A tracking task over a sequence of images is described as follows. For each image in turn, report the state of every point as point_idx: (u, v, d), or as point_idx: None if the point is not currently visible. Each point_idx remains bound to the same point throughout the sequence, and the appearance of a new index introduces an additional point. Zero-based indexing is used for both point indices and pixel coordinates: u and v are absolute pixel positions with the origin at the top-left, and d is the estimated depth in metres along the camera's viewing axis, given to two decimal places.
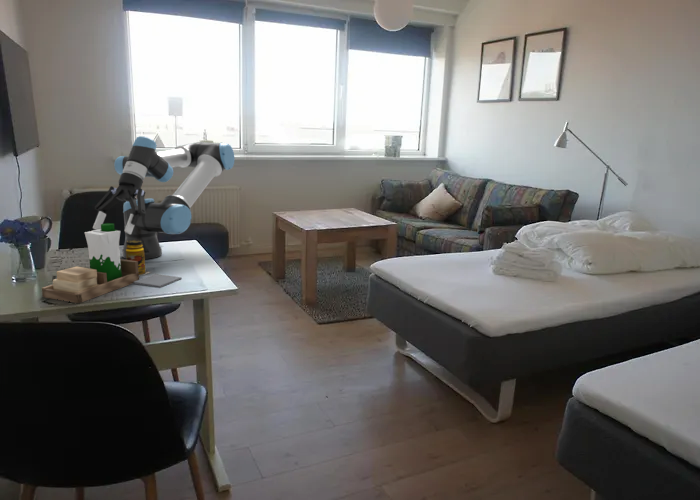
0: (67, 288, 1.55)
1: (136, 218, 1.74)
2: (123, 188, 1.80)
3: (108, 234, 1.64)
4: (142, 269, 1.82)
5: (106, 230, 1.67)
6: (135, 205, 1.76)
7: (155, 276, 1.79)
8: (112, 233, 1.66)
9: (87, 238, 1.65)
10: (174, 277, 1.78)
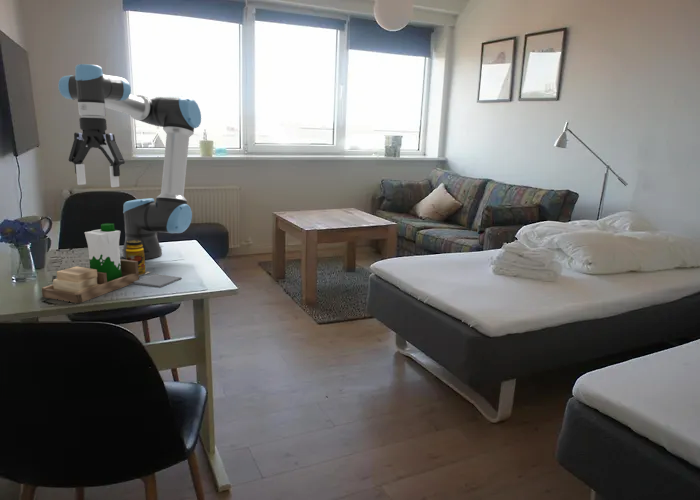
0: (67, 288, 1.55)
1: (117, 169, 1.60)
2: (88, 134, 1.59)
3: (108, 234, 1.64)
4: (142, 269, 1.82)
5: (106, 230, 1.67)
6: (110, 154, 1.59)
7: (155, 276, 1.79)
8: (112, 233, 1.66)
9: (87, 238, 1.65)
10: (174, 277, 1.78)
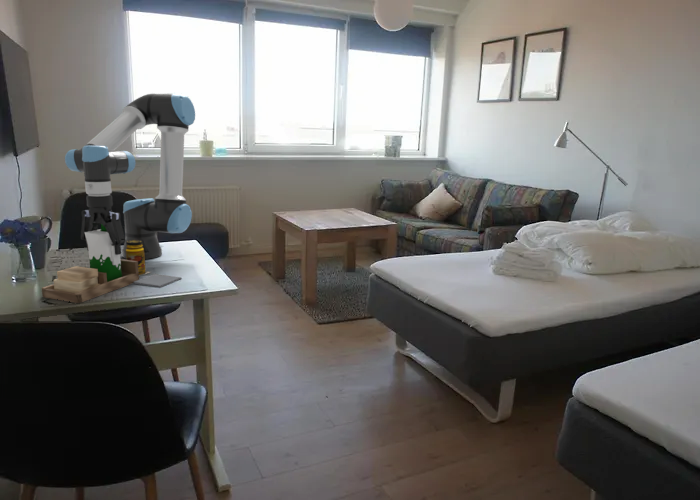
0: (69, 288, 1.56)
1: (118, 248, 1.66)
2: (95, 209, 1.64)
3: (108, 234, 1.64)
4: (142, 269, 1.82)
5: (106, 230, 1.67)
6: (113, 232, 1.65)
7: (155, 276, 1.79)
8: None
9: (87, 238, 1.65)
10: (174, 277, 1.78)
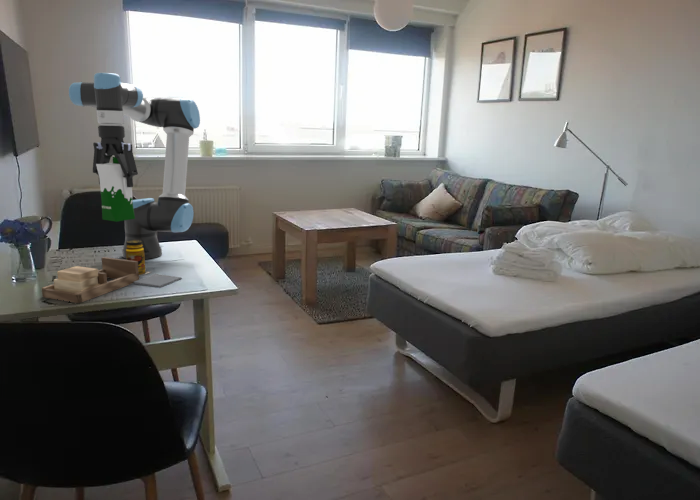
0: (69, 287, 1.56)
1: (130, 180, 1.62)
2: (106, 140, 1.61)
3: (120, 165, 1.61)
4: (142, 269, 1.82)
5: (118, 162, 1.63)
6: (125, 164, 1.61)
7: (155, 276, 1.79)
8: None
9: (98, 170, 1.61)
10: (174, 277, 1.78)
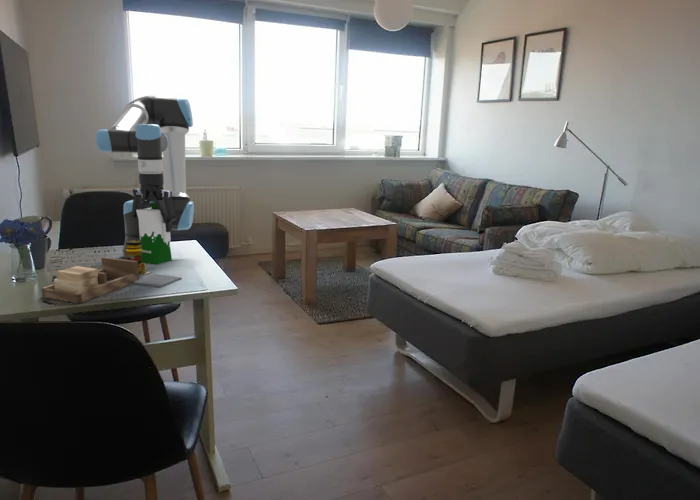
0: (69, 287, 1.56)
1: (169, 225, 1.69)
2: (146, 187, 1.67)
3: (159, 211, 1.67)
4: (142, 269, 1.82)
5: (157, 208, 1.69)
6: (164, 210, 1.68)
7: (155, 276, 1.79)
8: None
9: (139, 215, 1.67)
10: (174, 277, 1.78)
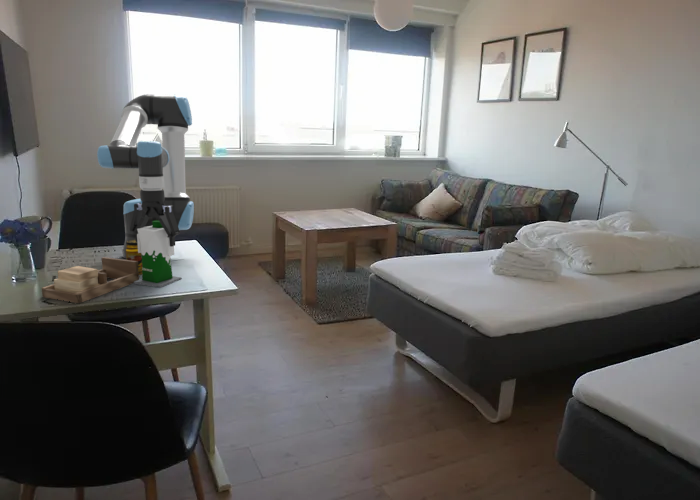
0: (68, 287, 1.56)
1: (173, 240, 1.69)
2: (148, 204, 1.69)
3: (160, 231, 1.69)
4: None
5: (158, 227, 1.71)
6: (167, 225, 1.69)
7: None
8: (164, 230, 1.70)
9: (140, 234, 1.69)
10: (174, 277, 1.78)
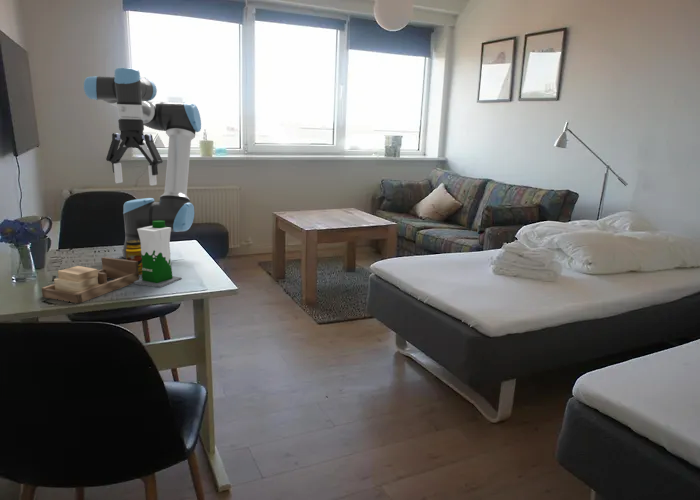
0: (68, 287, 1.56)
1: (155, 168, 1.68)
2: (127, 135, 1.67)
3: (160, 230, 1.69)
4: None
5: (158, 227, 1.71)
6: (148, 153, 1.67)
7: None
8: (164, 229, 1.70)
9: (140, 234, 1.69)
10: (174, 277, 1.78)
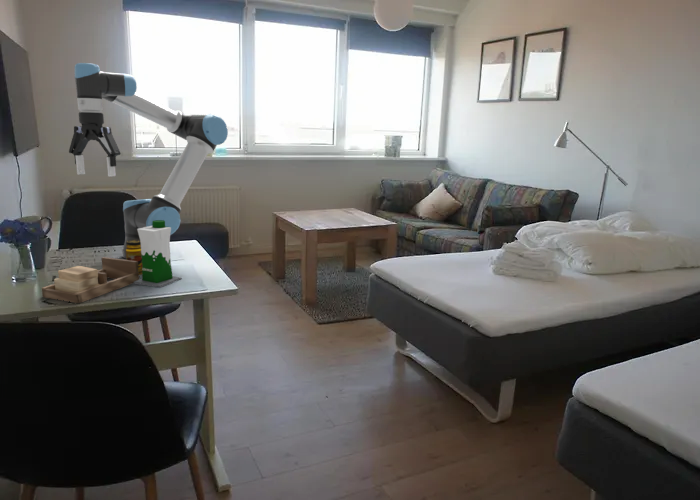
0: (68, 287, 1.56)
1: (114, 160, 1.73)
2: (87, 128, 1.73)
3: (160, 230, 1.69)
4: None
5: (158, 227, 1.71)
6: (107, 145, 1.73)
7: None
8: (164, 229, 1.70)
9: (140, 234, 1.69)
10: (174, 277, 1.78)
